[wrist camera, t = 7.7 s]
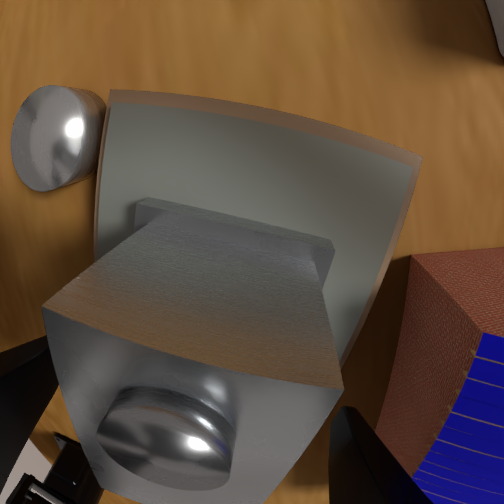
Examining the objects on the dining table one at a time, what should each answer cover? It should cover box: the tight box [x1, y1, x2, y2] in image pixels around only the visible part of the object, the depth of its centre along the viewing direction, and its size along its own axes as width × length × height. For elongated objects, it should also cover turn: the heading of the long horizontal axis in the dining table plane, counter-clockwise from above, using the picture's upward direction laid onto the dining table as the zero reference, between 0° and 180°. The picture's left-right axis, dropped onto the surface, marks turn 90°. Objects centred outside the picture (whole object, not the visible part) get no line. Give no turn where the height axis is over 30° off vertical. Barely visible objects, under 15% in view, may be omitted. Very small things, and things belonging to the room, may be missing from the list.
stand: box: [93, 90, 423, 371], centre depth 12 cm, size 16×11×2 cm
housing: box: [41, 197, 344, 504], centre depth 8 cm, size 9×6×7 cm, turn 168°
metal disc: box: [11, 85, 107, 192], centre depth 10 cm, size 4×4×2 cm
